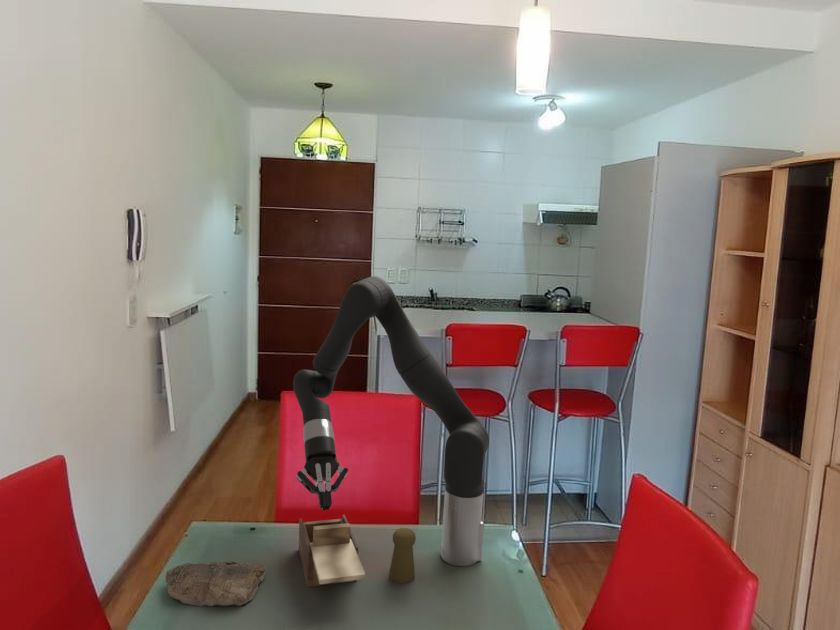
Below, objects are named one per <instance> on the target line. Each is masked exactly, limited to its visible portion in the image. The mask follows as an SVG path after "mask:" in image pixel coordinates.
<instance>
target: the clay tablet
mask: <svg viewBox="0 0 840 630" xmlns="http://www.w3.org/2000/svg"><path fill="white" fill-rule="evenodd" d="M266 569H267V568H266V566H265V565H264V564H261V563H259V562H249V563H246V562H245V563H243V562H242V563H239V562H234V561H214V562H213V561H211V562H209V563H208V562H204V563H203V562H200V563H190V562H189V563H184V564H180V565H178V566H175V567H173V568H172V569H169V570H167V571H166V572H165V573H166V574H165V582H166V584H167V585H166V590H167V593H168V594H169V596H170V597H172V599H175V600H176V601H180V603H181V604H184V605H193V606H197V607H204V606H208V607H215V606H227V607H228V606H242V605H246V604H247V603H248V602H249V601H252V600H253V599H254V597H256V594H257V592H258V591H259V586H258V585H260V584H261V583H262V582H263V581H264V579H265V577H266V573H265V571H266Z"/></svg>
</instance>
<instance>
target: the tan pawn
mask: <svg viewBox="0 0 840 630" xmlns="http://www.w3.org/2000/svg"><path fill="white" fill-rule="evenodd" d="M416 538H417V537H416V534H415V532H414V530H412V529H411V528H409V527H408V528H407V527H400V528H397V529H395V530H394V532H393V533H392V543H393V544H394V546H393V551H392V556H391V562H390V567H389V572H388V577H389V579H390V580H391V581H392V582H394V583H398V584H408V583H411V582H413V581H414V580H415V578H416V572H415V558H414V547H413V546H414V544H416V543H415V542H416Z"/></svg>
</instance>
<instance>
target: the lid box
mask: <svg viewBox="0 0 840 630" xmlns="http://www.w3.org/2000/svg"><path fill="white" fill-rule="evenodd" d="M298 523H299V525H298V554H299V558H300V562H301V567H302V570H303V575H304V579H305V583H306V586H307V588H310V587H319V586H328V585H335V584H336V585H337V584H343V583H351V582H353V583H354V582H358V580H351V581H343V582H335V583H327V584H319V580H318V577H317V573H316V569H315V566H314V562H313V558H312V555H311V551H310V543H313V526H323V525H334V524H344V523H349V521H348V519H347V517H346V515H345V514H342V518H336V519H335V518H334V519H325V520H315V521H313V520H312V521H303V520H302V518H299V520H298ZM350 539H351V540H352V542H353V545H354V547H355V550H356V552H357V555H358V556H359V546H358V543H357V542H356V541H357V540H356V539H355V537H354V534H353V532H352V529H351V528H350Z"/></svg>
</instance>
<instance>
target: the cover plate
mask: <svg viewBox="0 0 840 630" xmlns="http://www.w3.org/2000/svg"><path fill="white" fill-rule="evenodd" d="M350 529H351V524H350V522H348V523H344V524H334V525H323V526H313V543H310V551H311V555H312V558H313V562H314V566H315V569H316V573H317V577H318V580H319V584H327V583H335V582H343V581H351V580H357V581H359V580H365V579H366V572H365V570H364V567H363V565H362V562H361V560H360V557H359V554H358V555H357V552H356V550H355V547H354V545H353V542H352V540H351V539H350Z"/></svg>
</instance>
